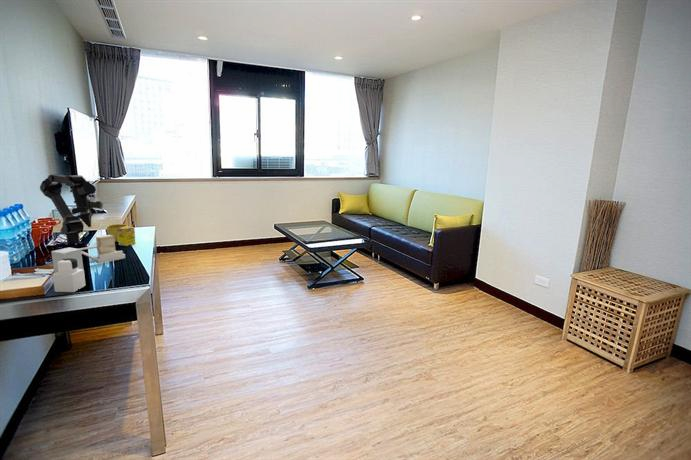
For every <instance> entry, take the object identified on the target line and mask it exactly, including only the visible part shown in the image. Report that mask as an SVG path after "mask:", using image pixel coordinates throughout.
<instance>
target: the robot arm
mask: <svg viewBox="0 0 691 460" xmlns="http://www.w3.org/2000/svg"><path fill="white" fill-rule="evenodd" d="M64 184H65V185H66V186H67V187H70V190H69V193H72V196H73V200H74V201H73V203H74V204H75V206H76V207H74V208H72V209H71V210H70V207H69V206H68V204H67V203H66V201H65V200H64V198H63V196H62V188H63V185H64ZM39 190H40V191H41V193H42V194H43V195H44V196H45V197H46V198H49V199H50V200H51V202H52V203H53V205H54V207H55V208H56V210H57V212H58V213H59V215H60V217H61V218H62V227H61V229H60V233H61V235H64V236H65V238H66V239H65V240H66V242H64V245H66V246H70V245H76V244H82V241H80V233H84V224H85V225H86V226H87V227H88V228H92V217H93V216H94V215H97V214H99V213H98V210H97V209H101V210H102V209H103V207H104V205H103V204H104V203H103V202H101V201H100V200H96V201H91V199H89V198H88V196H90V195H93V194H95V193H96V190H97V189H96V186H95V185H93V184H92V183H91V182H90V181H88V180H86V178H85V177H83V175H81V174H77V175H72V174H71V175H62V174H58V173H57V174H56V173H55V174H49V175H48V176H47V178H45V179H44V180H43V181H42V182H41V184H40V185H39ZM76 214H77V215H76Z"/></svg>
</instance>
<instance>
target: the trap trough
mask: <svg viewBox="0 0 691 460" xmlns="http://www.w3.org/2000/svg"><path fill="white" fill-rule="evenodd" d="M95 248H96V249H97V245H92V246H86V247H81V248H78V249H81V253H82V255H84V256H85V257H88V258H91V259H93V260H95V263H97V264H103V263H107V262H108V263H109V262H114V261H119V260H124V259H126V254H125V253H124V251H123V250H116V252H111V253H106V254H100V255H99V257H98V256H97V257H96V256H95V255H92V254H90V253H88V252H85V251H84V250H89V249H95Z"/></svg>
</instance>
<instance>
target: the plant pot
mask: <svg viewBox="0 0 691 460" xmlns="http://www.w3.org/2000/svg"><path fill="white" fill-rule="evenodd" d="M125 226H128V224H123V223H122V224H121V223H120V224H119V223H118V224H116V223H115V224H108V225H107V226H106V232H107V233H108V235H111V236H114V240H115V243H116V242H118V230H117V228H121V227H125ZM118 243H119V242H118Z"/></svg>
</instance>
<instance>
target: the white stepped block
mask: <svg viewBox="0 0 691 460" xmlns="http://www.w3.org/2000/svg"><path fill="white" fill-rule="evenodd" d="M57 264H58V271H59V272H57V273H55V274H54V273H53V274H52V280H53V289H54V292H55V293H75V292H77V291H79V290H80V289H82V288H84V287H85V286H87V285H86V284H87V283H86V278H85V276H86V275H85V270H84V268H83V269H78V264H77V260H76V259H73V258H67V259H62V260H60V261H58V262H57ZM78 289H79V290H78Z"/></svg>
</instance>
